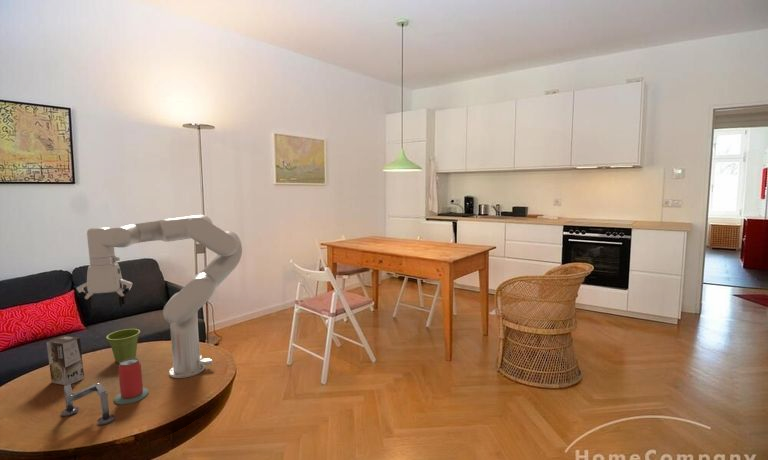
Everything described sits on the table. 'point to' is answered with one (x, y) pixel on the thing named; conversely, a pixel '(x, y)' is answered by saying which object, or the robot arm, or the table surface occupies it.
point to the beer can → (130, 378)
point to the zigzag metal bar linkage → (72, 396)
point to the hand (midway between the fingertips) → (107, 307)
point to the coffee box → (65, 360)
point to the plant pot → (124, 344)
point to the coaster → (120, 400)
